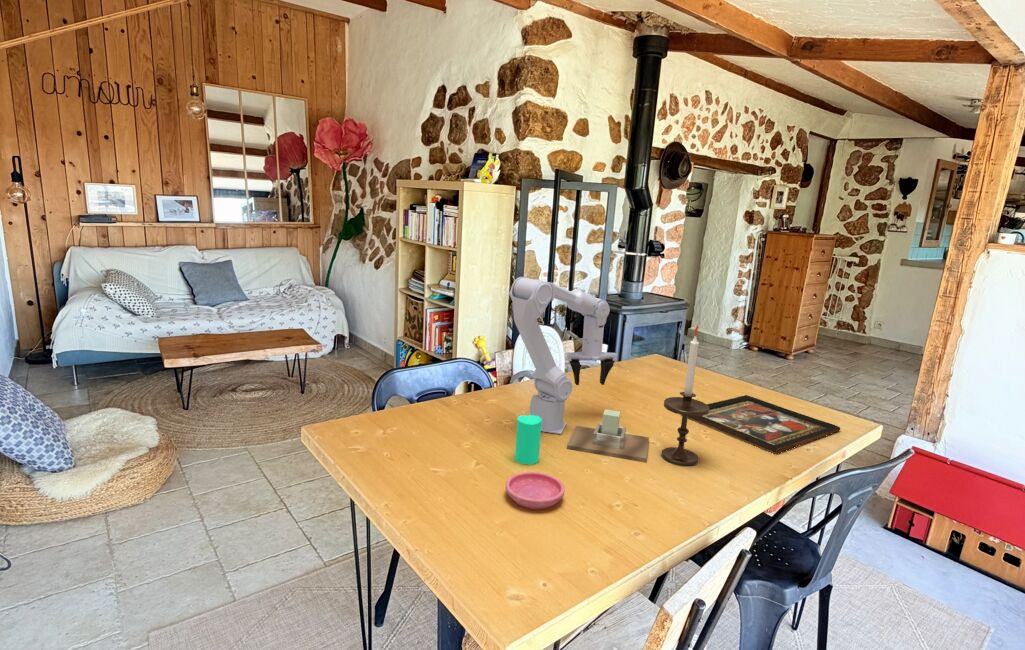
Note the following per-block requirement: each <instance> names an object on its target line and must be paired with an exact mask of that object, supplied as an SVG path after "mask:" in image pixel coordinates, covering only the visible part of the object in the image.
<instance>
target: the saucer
mask: <svg viewBox="0 0 1025 650" xmlns="http://www.w3.org/2000/svg"><path fill="white" fill-rule="evenodd" d="M505 482H506V483H505V491H506V493H507V495H508V496H509V498H511V499H512V500H513V502H515V504H517V505H518V504H519V505H518V506H520V507H522V508H525V507H526V508H525V509H528V508H529V509H528V510H544V509H545V508H546V509H550V508H551V507H553V506H554V505H556V504H557V503H558V502H560V500H562V499H563V498H564V495H565V485H564V484H563V482H562V481H561V480H560V479H559V478H557V477H556V476H554V475H552V474H548V473H545V472H541V471H523V472H517V473H515V474H513V475H511V476H509V477H508V478H507V480H506V481H505Z"/></svg>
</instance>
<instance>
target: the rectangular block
mask: <svg viewBox="0 0 1025 650" xmlns="http://www.w3.org/2000/svg"><path fill="white" fill-rule="evenodd" d="M620 419H621V411H619V410H612V409H607V408H605V409H604V411H603V415H602V423H601V424H602V432H601V433H602V434H608V435H614V436H618V429H619V427H620Z"/></svg>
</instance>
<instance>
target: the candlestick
mask: <svg viewBox="0 0 1025 650" xmlns="http://www.w3.org/2000/svg"><path fill="white" fill-rule="evenodd" d="M698 330H699V325H698V323H697V324H696V327H695V329H694V331H693V333H694V334H693V335H694V337H693V339H692V340H690V345H689V353H688V358H687V359H688V360H687V368H686V369H687V370H686V375H685V384H684V390H683V391H680V392H679V395H681V396H672V397H668V398H667V397H666V398H665V399H664V401H663V407H664V409H666V410H667V411H669V412H671V413H674V414H676V415H677V414H678V415H680V416H681V423H680V427H677V430H676V431H677V433H678V437H676V441H678V444H677V445H678V446H677V447H675V446H673V447H672V446H671V447H670V446H669V447H665V448H663V449H662V450H661V454H660V456H661V458H662V459H663V460H664V461H666V462H667V463H669V464H671V465H675V466H681V467H693V466H696V465H697V464H698V463H699V456H698V454H696V453H695V452H693V451H691V450H690V449H686V448H685V443H686V442H688V439H687V438H686V436H687V435H688V434H689V433H690V431H689V429H688V427H687V425H688V420H689V419H688V416H705V415H707V414H708V413H709V409H710V408H709V406H708V405H707V404H708V403H705V402H703V401H700V400H699V399H698V400H697V399H694V398H696V397H697V394H695V393H693V389H694V381H695V380H694V379H695V375H696V374H695V373H696V366H697V359H698V351H699V344H700V343H699V341H698V337H697V336H698Z"/></svg>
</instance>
